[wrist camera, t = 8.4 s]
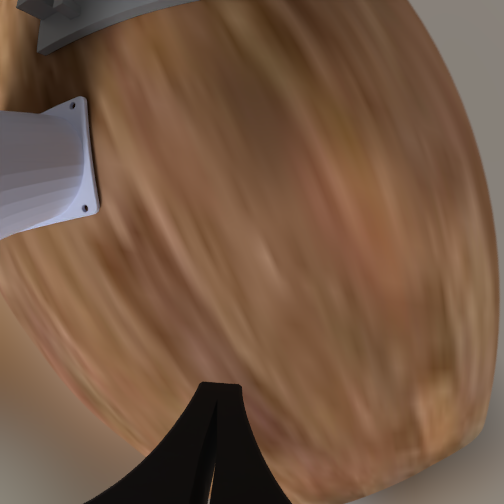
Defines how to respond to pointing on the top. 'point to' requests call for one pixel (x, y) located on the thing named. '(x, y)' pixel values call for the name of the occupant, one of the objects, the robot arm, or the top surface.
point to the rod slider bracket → (83, 17)
